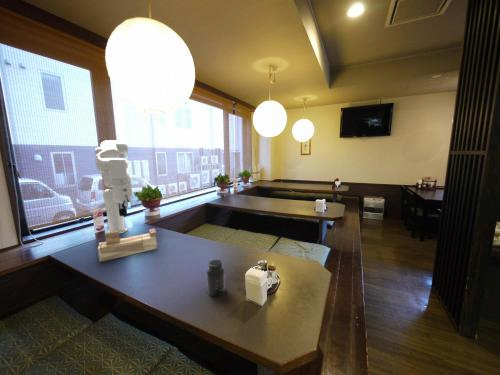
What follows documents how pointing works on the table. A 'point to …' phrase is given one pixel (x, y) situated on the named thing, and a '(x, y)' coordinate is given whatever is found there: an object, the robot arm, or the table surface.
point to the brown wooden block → (152, 232)
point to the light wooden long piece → (128, 248)
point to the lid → (118, 240)
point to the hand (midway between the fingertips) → (123, 215)
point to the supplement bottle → (215, 278)
